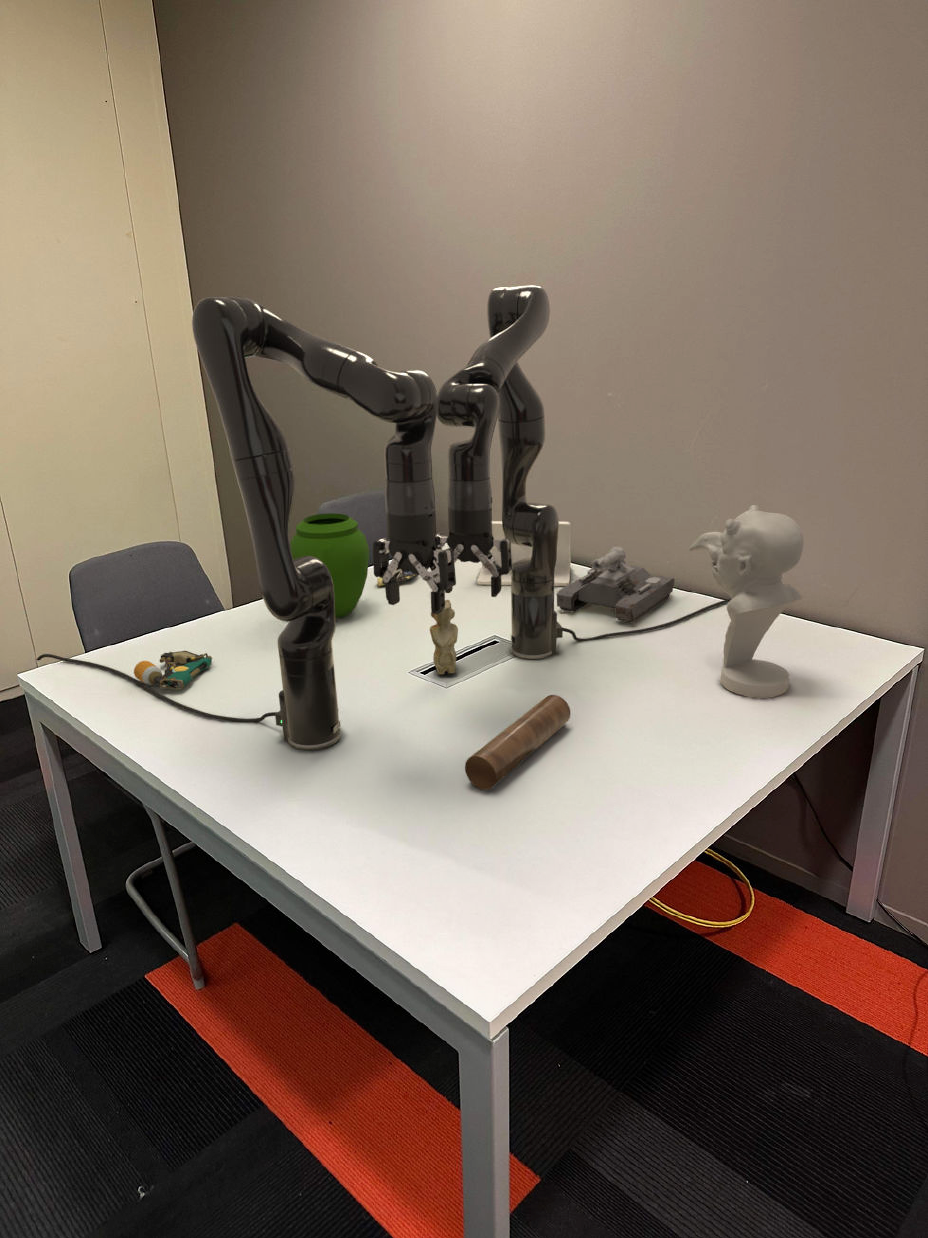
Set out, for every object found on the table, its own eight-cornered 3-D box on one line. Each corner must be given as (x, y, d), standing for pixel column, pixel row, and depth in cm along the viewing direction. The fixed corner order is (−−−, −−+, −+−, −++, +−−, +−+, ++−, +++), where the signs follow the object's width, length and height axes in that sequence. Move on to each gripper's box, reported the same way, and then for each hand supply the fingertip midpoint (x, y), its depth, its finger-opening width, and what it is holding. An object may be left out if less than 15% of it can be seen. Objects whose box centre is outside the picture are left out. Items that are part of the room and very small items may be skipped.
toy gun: (374, 578, 232) (409, 575, 230) (392, 563, 250) (425, 560, 247) (376, 588, 232) (411, 585, 230) (394, 572, 250) (427, 569, 248)
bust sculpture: (721, 647, 187) (735, 489, 174) (811, 688, 167) (833, 512, 154) (664, 663, 180) (674, 499, 167) (750, 707, 160) (769, 525, 147)
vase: (389, 608, 216) (383, 514, 208) (339, 633, 201) (330, 533, 192) (330, 596, 226) (322, 506, 218) (278, 619, 211) (267, 523, 202)
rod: (541, 720, 157) (541, 691, 155) (570, 728, 154) (571, 698, 152) (465, 784, 138) (464, 751, 136) (496, 794, 135) (495, 761, 132)
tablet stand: (569, 585, 229) (570, 524, 223) (476, 584, 232) (475, 523, 226) (570, 566, 246) (571, 508, 240) (484, 564, 249) (483, 507, 243)
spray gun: (177, 659, 191) (231, 671, 185) (120, 684, 176) (176, 698, 171) (176, 641, 190) (230, 653, 184) (118, 665, 175) (174, 678, 169)
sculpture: (458, 662, 183) (456, 596, 178) (460, 676, 176) (457, 608, 171) (431, 663, 183) (428, 597, 177) (431, 677, 176) (428, 609, 171)
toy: (603, 584, 229) (605, 530, 224) (673, 597, 218) (677, 540, 213) (555, 612, 210) (556, 553, 205) (630, 627, 199) (633, 566, 194)
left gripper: (358, 507, 130) (365, 607, 136) (434, 518, 123) (438, 623, 128) (388, 498, 136) (394, 594, 142) (463, 507, 128) (466, 608, 134)
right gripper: (423, 506, 145) (426, 597, 150) (504, 510, 140) (504, 603, 146) (437, 497, 151) (440, 584, 157) (515, 501, 147) (516, 590, 153)
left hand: (415, 608), depth 135 cm, fingers open, 8 cm apart
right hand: (471, 593), depth 151 cm, fingers open, 8 cm apart
